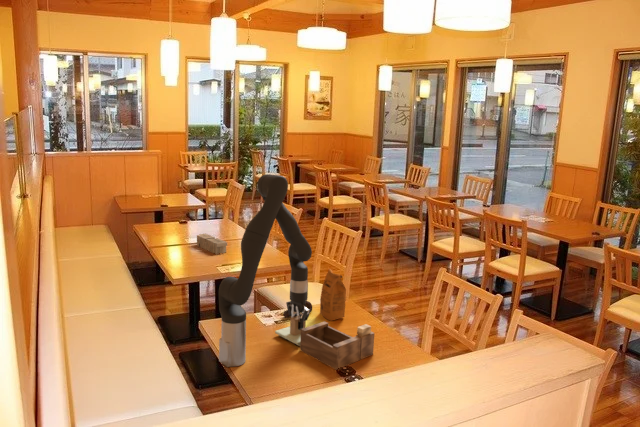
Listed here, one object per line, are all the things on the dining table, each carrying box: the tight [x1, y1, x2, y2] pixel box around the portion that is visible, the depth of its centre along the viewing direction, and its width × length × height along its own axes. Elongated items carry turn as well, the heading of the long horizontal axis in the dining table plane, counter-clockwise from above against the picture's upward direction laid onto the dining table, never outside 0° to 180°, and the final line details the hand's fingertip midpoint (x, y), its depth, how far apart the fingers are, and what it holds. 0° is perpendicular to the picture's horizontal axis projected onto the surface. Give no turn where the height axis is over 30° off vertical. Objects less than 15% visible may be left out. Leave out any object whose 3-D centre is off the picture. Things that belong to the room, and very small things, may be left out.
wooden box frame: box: [299, 321, 375, 370], centre depth 219 cm, size 21×21×9 cm
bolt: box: [282, 300, 313, 318], centre depth 257 cm, size 6×5×15 cm
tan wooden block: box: [356, 323, 372, 336], centre depth 216 cm, size 5×3×3 cm, turn 133°
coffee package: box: [319, 268, 347, 322], centre depth 256 cm, size 10×12×22 cm
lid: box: [274, 316, 307, 347], centre depth 231 cm, size 13×15×9 cm
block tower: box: [196, 233, 228, 255], centre depth 363 cm, size 8×8×29 cm
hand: (297, 327), depth 231 cm, fingers closed on lid, 3 cm apart
